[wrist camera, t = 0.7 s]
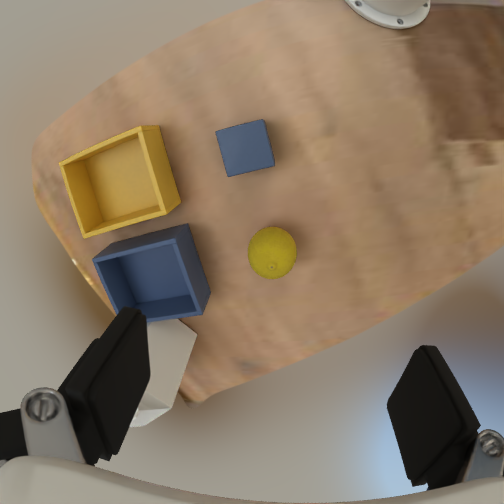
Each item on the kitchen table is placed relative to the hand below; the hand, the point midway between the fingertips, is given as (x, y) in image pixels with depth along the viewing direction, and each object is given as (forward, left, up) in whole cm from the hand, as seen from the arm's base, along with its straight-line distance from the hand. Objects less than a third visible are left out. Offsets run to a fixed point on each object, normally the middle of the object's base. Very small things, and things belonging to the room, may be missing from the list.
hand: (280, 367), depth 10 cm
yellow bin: (-7, -18, -29) cm, 35 cm away
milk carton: (+17, -21, -30) cm, 40 cm away
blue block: (-6, -2, -29) cm, 30 cm away
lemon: (+6, -2, -30) cm, 30 cm away
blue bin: (+6, -18, -29) cm, 35 cm away
